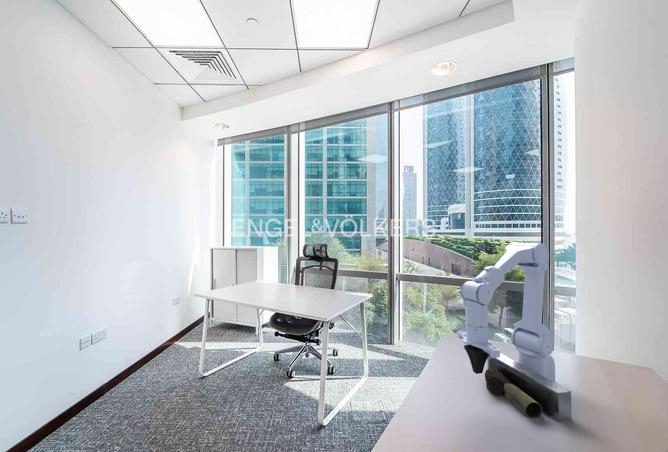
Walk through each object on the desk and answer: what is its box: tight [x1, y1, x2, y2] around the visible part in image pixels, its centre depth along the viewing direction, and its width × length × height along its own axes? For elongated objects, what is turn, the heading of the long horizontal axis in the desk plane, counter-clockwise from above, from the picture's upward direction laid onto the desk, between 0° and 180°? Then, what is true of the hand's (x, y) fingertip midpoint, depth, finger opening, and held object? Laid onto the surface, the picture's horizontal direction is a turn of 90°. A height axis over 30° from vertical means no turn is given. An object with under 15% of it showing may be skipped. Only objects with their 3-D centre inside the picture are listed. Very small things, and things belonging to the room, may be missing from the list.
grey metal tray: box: [486, 352, 573, 422], centre depth 82 cm, size 5×24×7 cm, turn 12°
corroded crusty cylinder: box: [484, 368, 543, 419], centre depth 80 cm, size 18×7×6 cm, turn 6°
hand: (477, 372), depth 79 cm, fingers closed
